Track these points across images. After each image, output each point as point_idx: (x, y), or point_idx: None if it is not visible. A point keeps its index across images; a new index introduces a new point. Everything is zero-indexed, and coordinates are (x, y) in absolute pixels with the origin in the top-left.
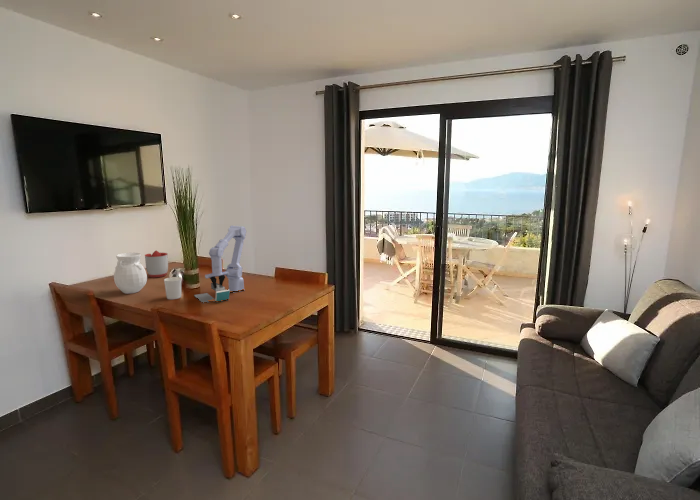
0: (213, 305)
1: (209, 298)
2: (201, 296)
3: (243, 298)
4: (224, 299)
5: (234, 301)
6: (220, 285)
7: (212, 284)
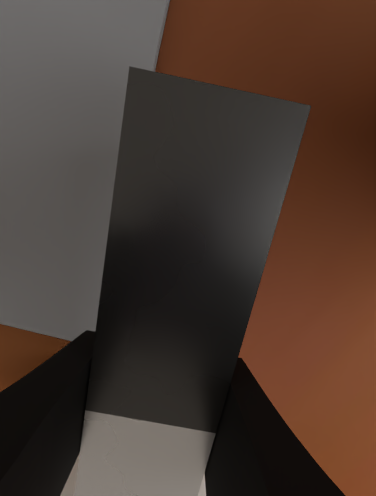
0: None
1: (66, 232)
2: (20, 44)
3: (338, 474)
4: None
5: None
6: (176, 487)
7: (117, 198)
